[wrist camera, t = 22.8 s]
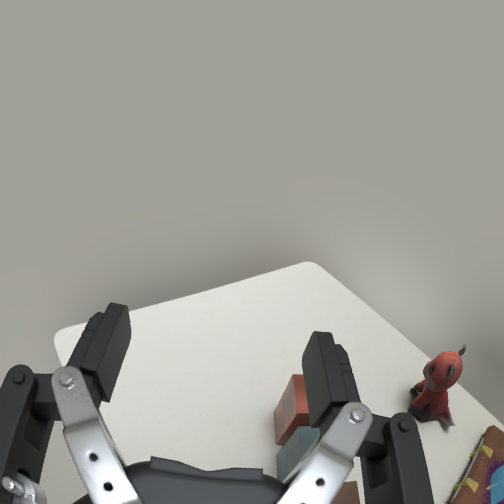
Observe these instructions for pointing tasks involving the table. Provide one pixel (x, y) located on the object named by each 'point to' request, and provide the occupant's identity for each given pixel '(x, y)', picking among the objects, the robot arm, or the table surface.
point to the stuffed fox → (437, 387)
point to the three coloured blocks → (300, 436)
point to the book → (484, 472)
